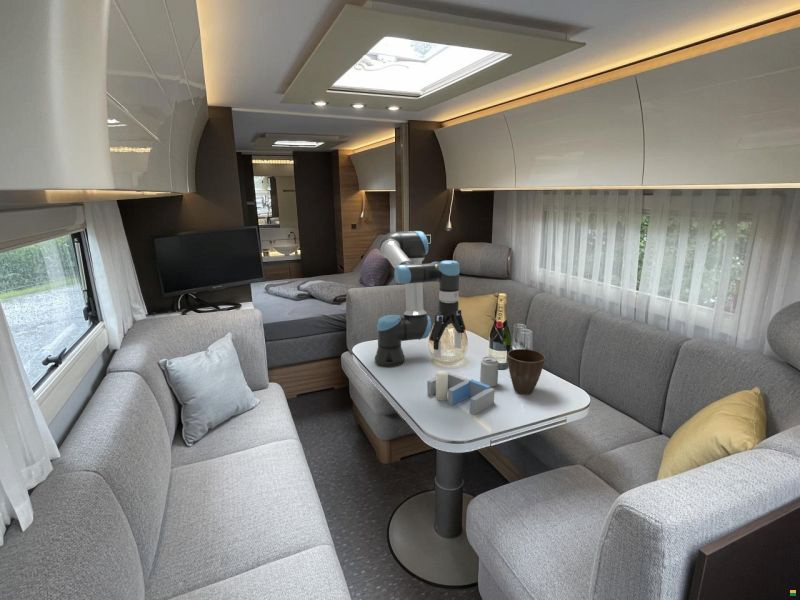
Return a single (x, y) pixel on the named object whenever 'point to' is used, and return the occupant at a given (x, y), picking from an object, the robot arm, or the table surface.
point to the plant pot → (525, 369)
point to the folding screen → (465, 392)
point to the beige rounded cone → (441, 385)
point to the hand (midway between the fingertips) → (447, 352)
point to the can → (489, 371)
